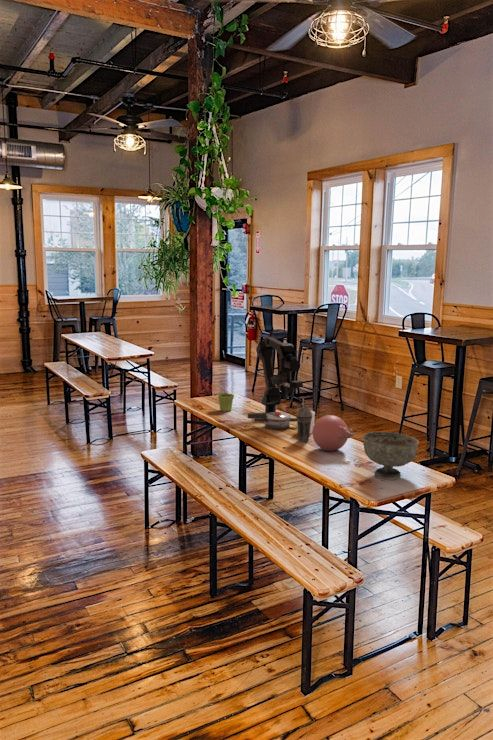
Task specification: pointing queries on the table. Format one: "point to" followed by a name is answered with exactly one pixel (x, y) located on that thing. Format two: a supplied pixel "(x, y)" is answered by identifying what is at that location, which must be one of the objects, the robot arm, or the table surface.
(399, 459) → the bowl
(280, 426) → the pot
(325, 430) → the balloon
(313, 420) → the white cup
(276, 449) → the table surface
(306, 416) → the beverage cup
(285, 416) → the lid
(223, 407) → the plant pot
